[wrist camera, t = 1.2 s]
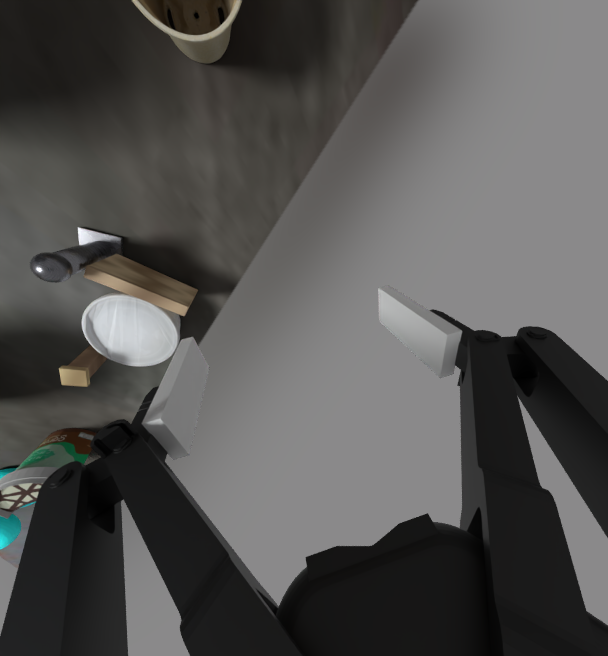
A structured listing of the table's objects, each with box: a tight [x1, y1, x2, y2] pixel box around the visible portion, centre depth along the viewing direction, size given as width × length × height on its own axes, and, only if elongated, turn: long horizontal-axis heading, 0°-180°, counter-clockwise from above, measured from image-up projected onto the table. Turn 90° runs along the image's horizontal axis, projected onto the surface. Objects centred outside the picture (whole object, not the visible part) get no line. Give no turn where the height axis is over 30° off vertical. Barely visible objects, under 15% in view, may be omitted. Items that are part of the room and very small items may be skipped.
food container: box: [0, 428, 97, 519], centre depth 39 cm, size 12×6×10 cm, turn 113°
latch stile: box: [59, 345, 107, 387], centre depth 32 cm, size 3×3×9 cm
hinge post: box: [30, 227, 123, 282], centre depth 26 cm, size 4×4×11 cm
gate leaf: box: [84, 254, 198, 316], centre depth 30 cm, size 10×1×7 cm, turn 57°
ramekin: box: [82, 292, 181, 366], centre depth 33 cm, size 11×11×5 cm
